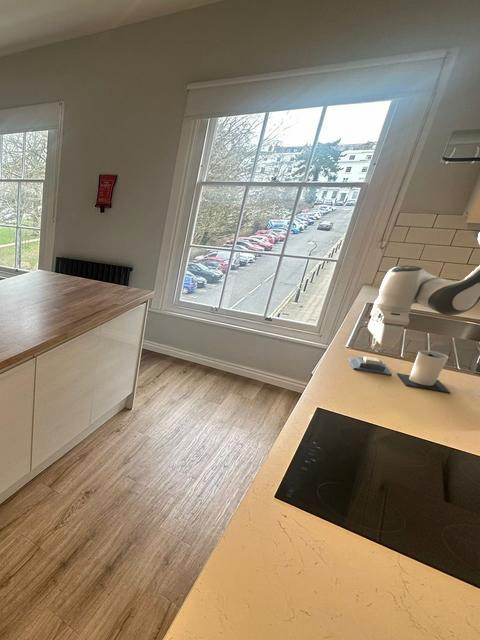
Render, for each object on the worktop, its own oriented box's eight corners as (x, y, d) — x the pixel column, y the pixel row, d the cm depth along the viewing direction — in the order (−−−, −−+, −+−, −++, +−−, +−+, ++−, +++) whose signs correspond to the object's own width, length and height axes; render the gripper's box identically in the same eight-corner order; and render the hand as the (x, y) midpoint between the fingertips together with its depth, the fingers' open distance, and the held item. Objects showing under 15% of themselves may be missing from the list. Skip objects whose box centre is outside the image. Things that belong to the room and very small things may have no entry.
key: (376, 361, 145) (377, 358, 144) (378, 365, 142) (380, 361, 141) (362, 359, 147) (364, 356, 146) (365, 363, 144) (366, 359, 143)
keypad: (383, 365, 146) (386, 359, 145) (391, 376, 139) (393, 370, 138) (347, 360, 152) (349, 354, 151) (353, 369, 144) (355, 363, 143)
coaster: (437, 381, 135) (438, 379, 134) (449, 393, 127) (450, 392, 127) (396, 374, 140) (397, 373, 140) (405, 386, 132) (406, 384, 132)
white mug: (401, 377, 137) (412, 350, 133) (420, 376, 137) (432, 350, 133) (422, 386, 131) (434, 358, 127) (442, 385, 131) (455, 358, 127)
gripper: (370, 304, 147) (357, 338, 152) (384, 319, 131) (369, 357, 136) (393, 306, 144) (379, 341, 149) (411, 322, 128) (395, 361, 133)
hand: (374, 349), depth 143 cm, fingers closed
